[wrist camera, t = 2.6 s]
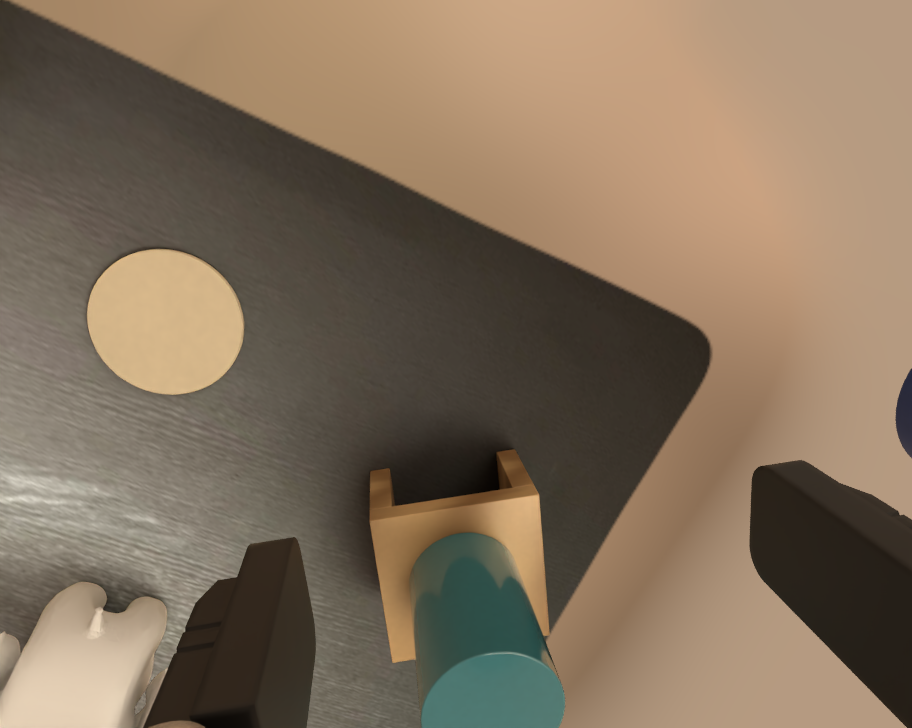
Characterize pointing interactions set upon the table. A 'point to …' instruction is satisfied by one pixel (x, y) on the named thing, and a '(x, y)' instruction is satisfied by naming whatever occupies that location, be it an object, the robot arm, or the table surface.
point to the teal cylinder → (479, 640)
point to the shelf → (423, 523)
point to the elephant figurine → (83, 664)
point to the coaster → (165, 321)
